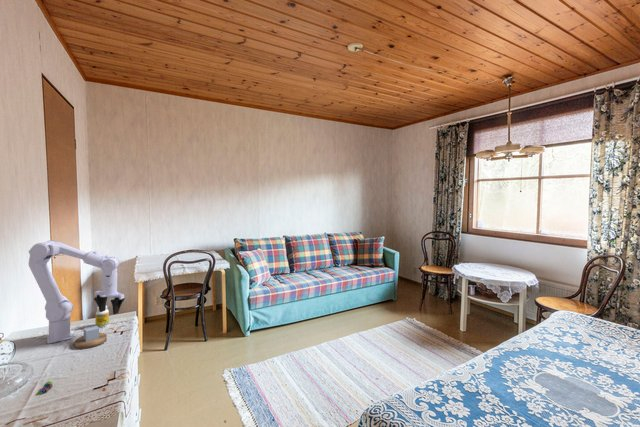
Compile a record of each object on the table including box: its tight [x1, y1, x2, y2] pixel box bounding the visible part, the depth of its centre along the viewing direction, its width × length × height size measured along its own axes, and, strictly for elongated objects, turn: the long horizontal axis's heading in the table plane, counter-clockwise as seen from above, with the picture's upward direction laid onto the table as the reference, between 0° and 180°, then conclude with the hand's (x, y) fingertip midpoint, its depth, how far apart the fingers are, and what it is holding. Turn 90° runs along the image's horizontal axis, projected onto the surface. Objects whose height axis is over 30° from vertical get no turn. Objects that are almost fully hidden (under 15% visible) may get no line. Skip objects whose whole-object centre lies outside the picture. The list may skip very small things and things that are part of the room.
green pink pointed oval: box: [34, 381, 53, 397], centre depth 96 cm, size 4×3×2 cm, turn 16°
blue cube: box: [82, 325, 100, 342], centre depth 128 cm, size 4×4×4 cm
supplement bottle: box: [94, 304, 110, 328], centre depth 145 cm, size 5×5×10 cm
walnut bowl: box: [74, 332, 107, 350], centre depth 128 cm, size 11×11×2 cm
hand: (109, 312), depth 136 cm, fingers open, 7 cm apart
